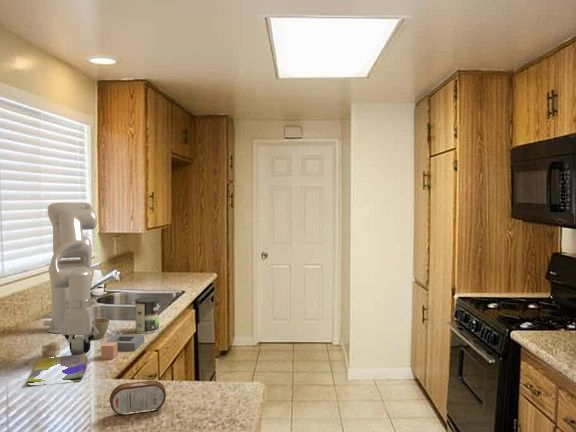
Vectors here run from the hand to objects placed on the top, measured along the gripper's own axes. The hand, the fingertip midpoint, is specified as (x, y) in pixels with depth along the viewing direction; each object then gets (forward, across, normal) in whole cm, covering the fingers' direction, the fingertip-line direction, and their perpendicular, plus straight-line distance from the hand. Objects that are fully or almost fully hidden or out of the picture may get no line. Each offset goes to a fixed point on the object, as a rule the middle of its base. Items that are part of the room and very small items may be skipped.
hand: (80, 351), depth 189 cm
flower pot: (+3, -4, +26) cm, 26 cm away
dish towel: (+2, 0, -17) cm, 17 cm away
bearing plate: (+2, +12, +14) cm, 18 cm away
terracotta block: (+2, +11, 0) cm, 11 cm away
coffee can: (+3, +14, +38) cm, 40 cm away
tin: (+1, +37, -48) cm, 61 cm away
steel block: (+1, 0, 0) cm, 1 cm away
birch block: (+2, -11, 0) cm, 11 cm away
